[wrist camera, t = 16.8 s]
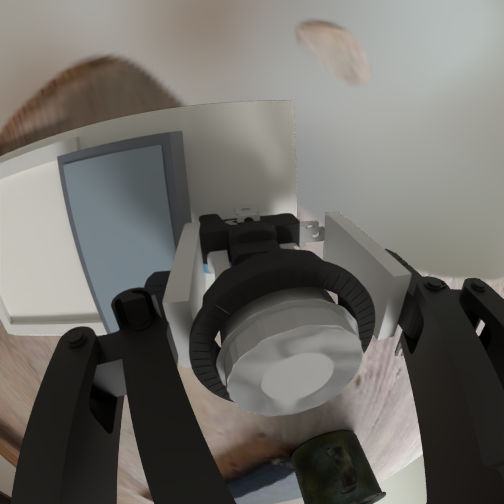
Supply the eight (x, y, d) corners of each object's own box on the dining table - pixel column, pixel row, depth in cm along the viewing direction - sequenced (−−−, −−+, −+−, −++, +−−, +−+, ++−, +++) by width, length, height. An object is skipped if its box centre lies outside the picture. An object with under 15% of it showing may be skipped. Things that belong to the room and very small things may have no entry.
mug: (288, 467, 35) (306, 527, 24) (283, 431, 29) (309, 516, 18) (352, 447, 36) (376, 503, 25) (366, 405, 30) (404, 479, 19)
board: (16, 329, 18) (11, 338, 16) (-36, 174, 12) (-46, 178, 10) (291, 308, 20) (296, 318, 19) (289, 101, 14) (296, 99, 13)
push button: (315, 179, 15) (450, 263, 6) (312, 266, 17) (398, 395, 8) (189, 188, 14) (164, 306, 5) (201, 279, 16) (208, 439, 7)
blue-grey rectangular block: (121, 314, 18) (108, 339, 15) (81, 150, 13) (55, 156, 10) (206, 314, 18) (201, 342, 15) (182, 130, 13) (169, 132, 10)
